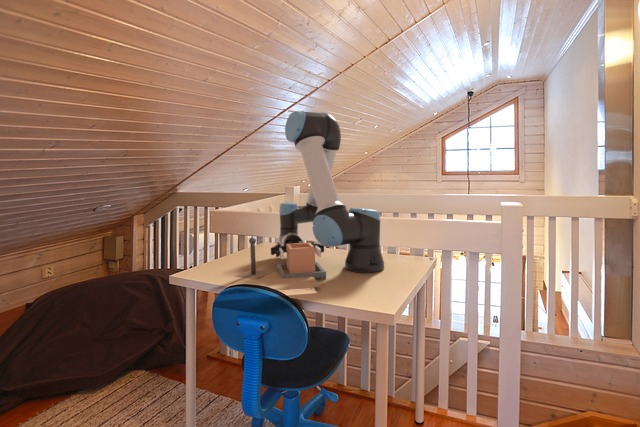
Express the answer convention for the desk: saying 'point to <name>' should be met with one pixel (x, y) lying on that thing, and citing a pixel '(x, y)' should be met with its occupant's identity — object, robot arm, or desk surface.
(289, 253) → the orange block
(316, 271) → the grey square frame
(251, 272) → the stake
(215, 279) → the desk surface
